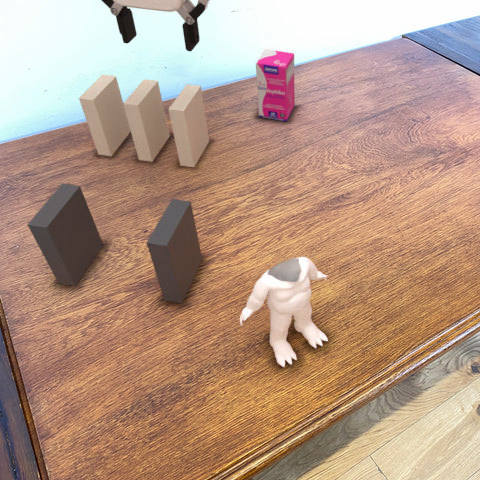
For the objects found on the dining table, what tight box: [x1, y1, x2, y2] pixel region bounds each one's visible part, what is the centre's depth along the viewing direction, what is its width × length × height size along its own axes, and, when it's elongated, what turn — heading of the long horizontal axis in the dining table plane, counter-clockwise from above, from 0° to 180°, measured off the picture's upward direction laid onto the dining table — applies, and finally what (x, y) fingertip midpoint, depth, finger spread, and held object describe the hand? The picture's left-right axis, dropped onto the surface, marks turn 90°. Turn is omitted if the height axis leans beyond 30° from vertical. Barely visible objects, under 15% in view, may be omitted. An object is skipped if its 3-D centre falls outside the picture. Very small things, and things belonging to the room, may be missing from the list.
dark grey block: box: [27, 182, 104, 287], centre depth 68 cm, size 2×8×11 cm, turn 170°
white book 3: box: [168, 83, 210, 168], centre depth 86 cm, size 2×8×11 cm, turn 170°
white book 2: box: [123, 79, 171, 163], centre depth 87 cm, size 2×8×11 cm, turn 170°
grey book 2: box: [146, 198, 203, 304], centre depth 66 cm, size 2×8×11 cm, turn 170°
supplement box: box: [255, 48, 295, 122], centre depth 96 cm, size 6×6×12 cm
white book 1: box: [78, 74, 131, 157], centre depth 88 cm, size 2×8×11 cm, turn 170°
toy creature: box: [239, 256, 329, 368], centre depth 59 cm, size 12×6×12 cm, turn 126°
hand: (161, 43), depth 76 cm, fingers open, 9 cm apart
